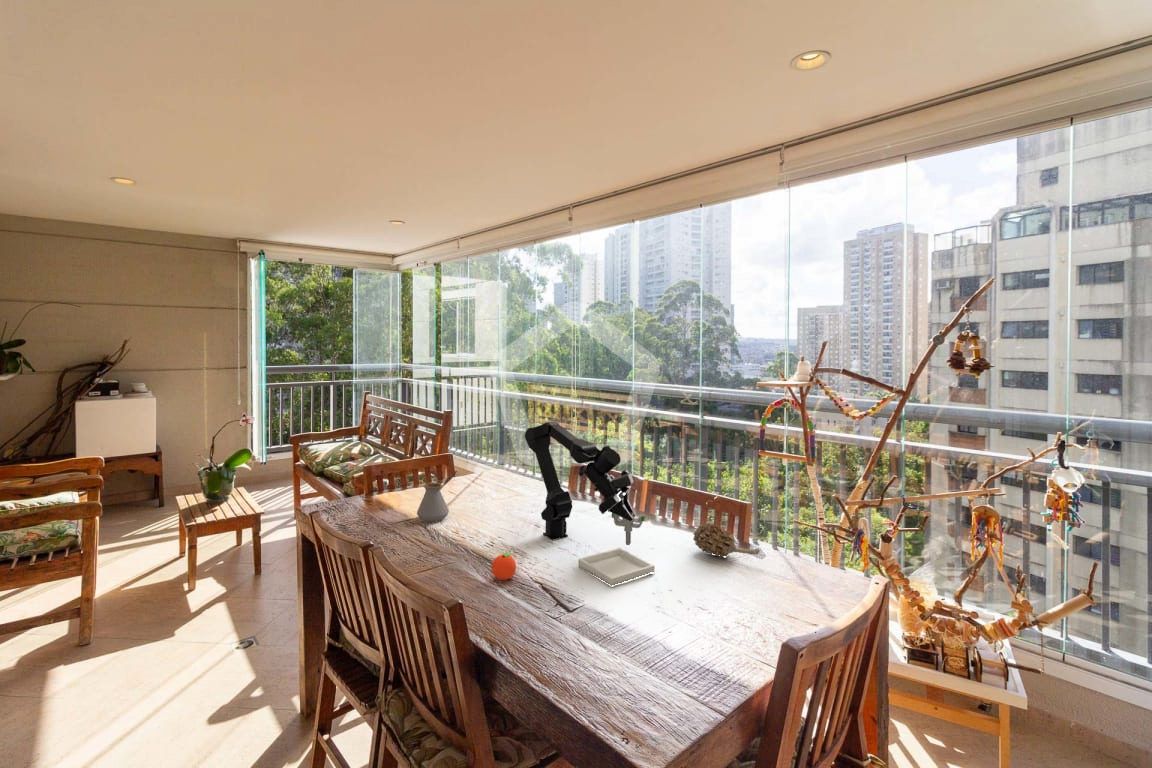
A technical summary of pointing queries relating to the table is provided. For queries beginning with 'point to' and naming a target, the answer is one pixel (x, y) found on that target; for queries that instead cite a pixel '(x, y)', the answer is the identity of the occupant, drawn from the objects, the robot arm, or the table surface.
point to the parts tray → (615, 566)
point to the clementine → (503, 567)
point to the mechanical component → (628, 524)
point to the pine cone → (717, 540)
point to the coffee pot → (433, 502)
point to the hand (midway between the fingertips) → (632, 518)
